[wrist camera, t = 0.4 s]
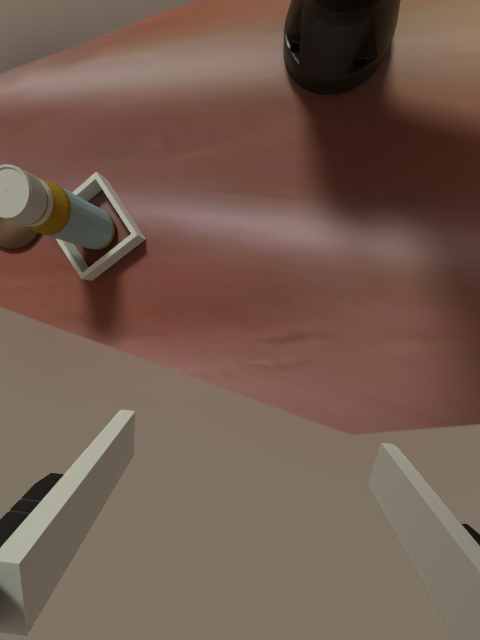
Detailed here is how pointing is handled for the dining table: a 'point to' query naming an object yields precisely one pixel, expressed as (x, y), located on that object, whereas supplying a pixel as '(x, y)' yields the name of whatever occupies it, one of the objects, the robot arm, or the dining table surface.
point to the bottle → (52, 210)
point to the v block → (16, 234)
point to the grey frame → (119, 251)
